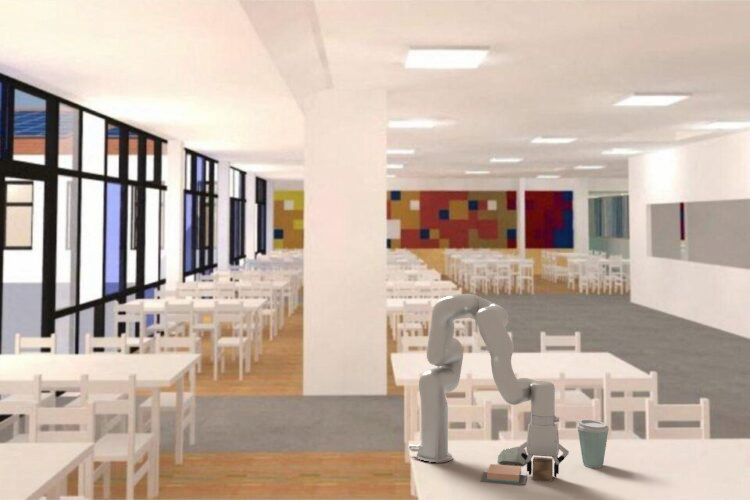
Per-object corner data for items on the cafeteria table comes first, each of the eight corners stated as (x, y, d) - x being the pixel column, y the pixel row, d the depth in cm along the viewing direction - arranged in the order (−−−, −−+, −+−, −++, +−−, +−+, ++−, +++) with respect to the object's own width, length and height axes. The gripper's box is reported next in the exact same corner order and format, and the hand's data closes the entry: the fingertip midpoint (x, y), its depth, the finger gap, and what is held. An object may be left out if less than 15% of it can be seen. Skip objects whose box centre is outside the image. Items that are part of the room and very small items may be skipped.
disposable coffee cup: (610, 463, 254) (610, 420, 254) (606, 471, 244) (606, 426, 244) (579, 459, 258) (579, 417, 258) (574, 467, 248) (574, 423, 248)
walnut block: (532, 480, 235) (532, 461, 235) (533, 474, 241) (533, 456, 241) (551, 482, 233) (551, 463, 233) (552, 476, 239) (552, 458, 239)
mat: (480, 481, 233) (480, 480, 233) (484, 472, 242) (484, 471, 242) (525, 485, 229) (525, 484, 229) (527, 476, 239) (527, 475, 239)
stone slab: (497, 469, 252) (526, 467, 250) (496, 461, 253) (525, 458, 250) (500, 452, 274) (527, 450, 272) (499, 445, 274) (526, 443, 272)
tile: (490, 471, 243) (487, 480, 233) (490, 464, 243) (487, 472, 233) (521, 473, 240) (518, 482, 231) (521, 466, 240) (518, 475, 231)
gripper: (570, 419, 238) (570, 473, 238) (516, 416, 243) (516, 469, 243) (570, 424, 231) (570, 480, 231) (514, 421, 236) (514, 476, 236)
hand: (542, 474), depth 237 cm, fingers open, 7 cm apart
